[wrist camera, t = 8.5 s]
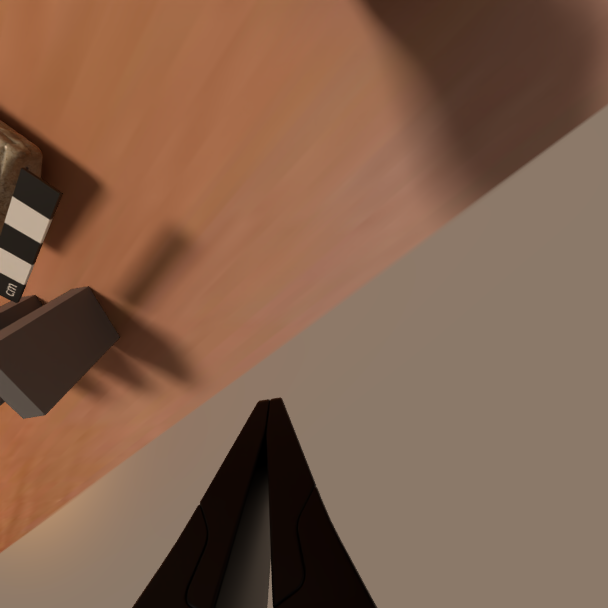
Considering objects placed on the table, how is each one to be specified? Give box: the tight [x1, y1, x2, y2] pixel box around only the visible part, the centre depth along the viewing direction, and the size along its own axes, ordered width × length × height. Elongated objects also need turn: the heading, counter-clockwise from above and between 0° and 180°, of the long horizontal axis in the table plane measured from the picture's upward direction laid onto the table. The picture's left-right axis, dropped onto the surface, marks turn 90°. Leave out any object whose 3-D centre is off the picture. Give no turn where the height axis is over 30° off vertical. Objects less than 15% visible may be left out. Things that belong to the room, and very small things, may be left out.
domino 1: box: [0, 286, 120, 419], centre depth 15 cm, size 1×4×7 cm, turn 8°
